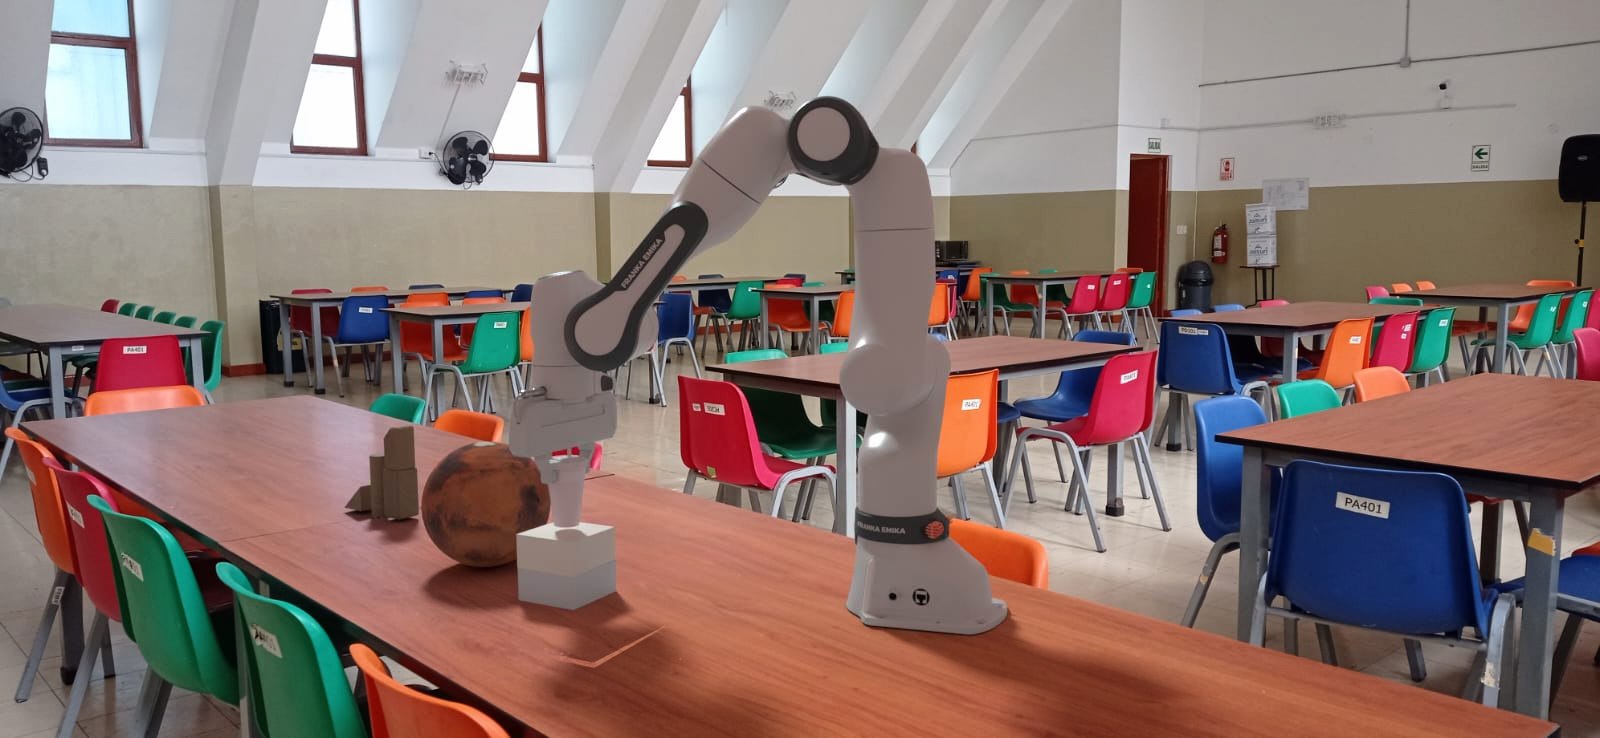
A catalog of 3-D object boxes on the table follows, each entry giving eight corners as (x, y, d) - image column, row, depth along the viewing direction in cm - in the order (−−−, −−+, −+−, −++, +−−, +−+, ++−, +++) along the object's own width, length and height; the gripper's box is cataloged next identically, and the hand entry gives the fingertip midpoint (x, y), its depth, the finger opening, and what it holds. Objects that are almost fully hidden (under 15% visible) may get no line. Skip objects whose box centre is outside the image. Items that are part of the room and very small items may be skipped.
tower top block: (615, 559, 169) (614, 526, 168) (572, 577, 160) (571, 542, 159) (561, 551, 173) (561, 519, 173) (517, 568, 164) (516, 534, 164)
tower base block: (616, 592, 169) (615, 560, 169) (573, 611, 160) (572, 577, 160) (563, 583, 174) (562, 551, 173) (518, 601, 165) (517, 568, 164)
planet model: (462, 545, 195) (458, 430, 193) (571, 551, 191) (568, 434, 189) (398, 578, 176) (393, 451, 173) (518, 586, 172) (514, 455, 169)
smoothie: (579, 531, 162) (578, 434, 161) (536, 528, 163) (535, 432, 162) (595, 520, 168) (594, 427, 167) (554, 517, 170) (553, 425, 168)
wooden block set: (424, 519, 215) (420, 424, 213) (398, 525, 210) (394, 428, 208) (370, 507, 224) (366, 417, 222) (344, 513, 220) (340, 421, 218)
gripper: (531, 393, 153) (534, 493, 154) (623, 377, 171) (625, 468, 172) (496, 390, 156) (499, 489, 157) (589, 375, 174) (592, 464, 175)
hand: (566, 478), depth 165 cm, fingers closed on smoothie, 6 cm apart
